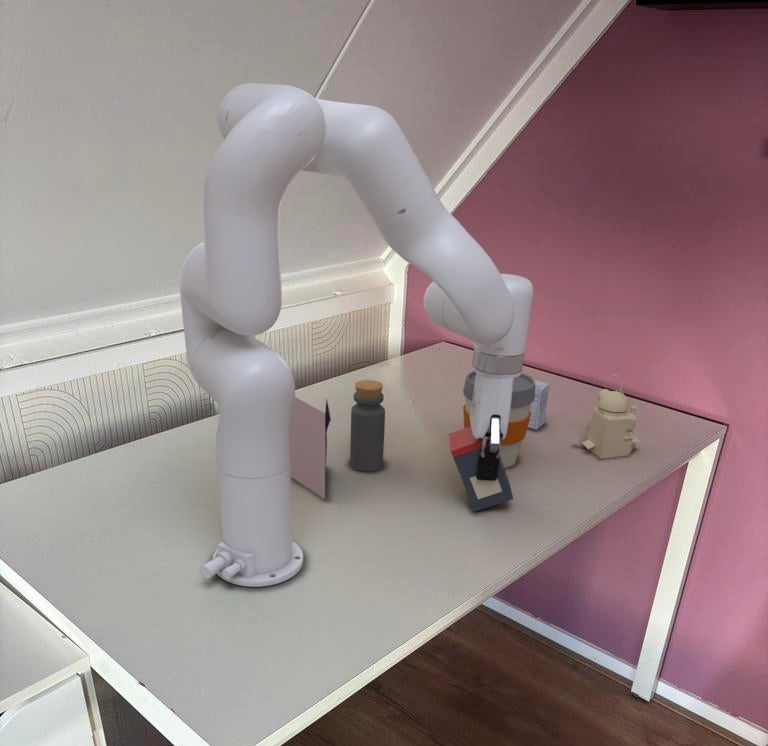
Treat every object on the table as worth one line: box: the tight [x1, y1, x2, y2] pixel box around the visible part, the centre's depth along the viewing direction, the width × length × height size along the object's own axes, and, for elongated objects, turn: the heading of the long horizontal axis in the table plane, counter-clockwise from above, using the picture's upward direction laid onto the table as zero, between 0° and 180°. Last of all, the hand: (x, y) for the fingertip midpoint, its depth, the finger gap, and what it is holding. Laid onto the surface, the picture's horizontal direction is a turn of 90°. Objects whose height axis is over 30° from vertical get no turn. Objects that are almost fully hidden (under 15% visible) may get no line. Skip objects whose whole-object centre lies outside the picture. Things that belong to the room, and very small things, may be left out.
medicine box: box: [527, 380, 550, 431], centre depth 160 cm, size 8×4×9 cm, turn 58°
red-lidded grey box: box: [448, 426, 514, 512], centre depth 128 cm, size 12×7×7 cm
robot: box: [578, 373, 641, 459], centre depth 149 cm, size 10×8×15 cm
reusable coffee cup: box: [462, 370, 536, 469], centre depth 144 cm, size 13×13×15 cm
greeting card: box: [290, 396, 332, 500], centre depth 132 cm, size 11×7×15 cm, turn 3°
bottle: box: [349, 379, 386, 472], centre depth 139 cm, size 6×6×15 cm
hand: (484, 468), depth 128 cm, fingers closed on red-lidded grey box, 6 cm apart
